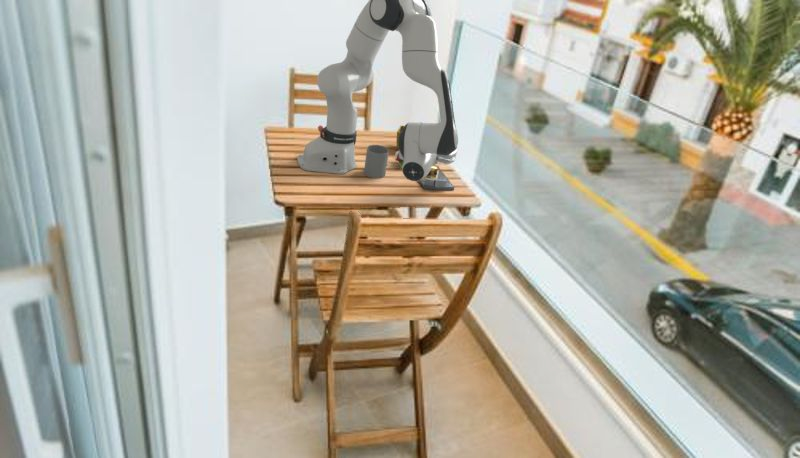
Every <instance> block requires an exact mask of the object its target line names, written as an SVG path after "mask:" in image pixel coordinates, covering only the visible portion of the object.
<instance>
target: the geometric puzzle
mask: <svg viewBox="0 0 800 458" xmlns="http://www.w3.org/2000/svg"><path fill="white" fill-rule="evenodd" d="M394 160H395V162H396V163H398V165H399V166H400V167H402V166H403V162H404V160H402V159H400V158H399V150H397V151H396V152H395V154H394Z"/></svg>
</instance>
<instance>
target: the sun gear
mask: <svg viewBox="0 0 800 458" xmlns="http://www.w3.org/2000/svg"><path fill="white" fill-rule="evenodd" d="M439 168H440V166H439V165H437V164H434V165H433V166H432V168H431V170H430V172H429V173H428V174H431V175H434V174H438V172H439Z"/></svg>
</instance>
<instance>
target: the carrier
mask: <svg viewBox="0 0 800 458" xmlns="http://www.w3.org/2000/svg"><path fill="white" fill-rule="evenodd" d="M418 183H419V184H420V185H421V187H422V188H423V190H424V191H425V190H427V191H428V190H429V191H431V190H432V191H436V190H437V191H454V190H455V185H454V184H453V183H452V182H451V181H450V180H449V178H448V177H447V176H446V175H445V173H444V172H443V171H442V170H441V168H440V167H439V172H438V174H434V175H431V174H427V176H426V177H425V178H423V179H422V180H419V181H418Z"/></svg>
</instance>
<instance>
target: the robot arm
mask: <svg viewBox="0 0 800 458" xmlns="http://www.w3.org/2000/svg"><path fill="white" fill-rule="evenodd" d="M389 31H391V32H394V31H396V32H398V33H399V34H400V35H401V40H402V43H401V44H402V45H401V64H402V66H401V67H402V70H403V72H404V74H405V75H406V76H407V77H408V78H409V79H410V80H412V81H413V82H415V83H418V84H419V85H422V86H424V87H427V88H429V89H431V90H432V91H433V92H434V93H435V95H436V96H437V101H438V109H439V115H440V122H438V123H434V122H433V123H432V122H431V123H429V122H407V123H406V124H405V125H403V126H404V127H403V129H402V130H401V132H400V136H399V149H398V151H399V153H398V154H399V158H400V159H402V160H404V162H403V166H401V169H402V170H401V171H402V174H403V176H404V177H405V178H406V179H407V180H408V181H409V180H410V181H413V182H419V180H422V179H423V178H425V177H426V176H427V174H428V173H429V172H430V170H431V168H432V166H433V165H434V163H435V161H437V163H442V164H447V165H451V164H452V163H454V162H455V161H456V157H457V154H458V153H457V152H458V151H457V148H458V145H459V135H458V129H457V126H456V121H455V114H454V105H453V98H452V92H451V85H450V79H449V76H448V73H447V71H446V70H444V69H443V68H442V67H441V65H440V63H439V57H438V55H439V54H438V51H439V50H438V49H439V47H438V32H437V25H436V22H435V20H434V19H433V11H432V7H431V5H430V4H429V2H428V1H426V0H368V1H367V3H365V5H364V7H363V8H362V10H361V12H359V14H358V16H357V18H356V21H355V22H354V24H353V26H352V29H351V31H350V32H349V35H348V37H347V39H346V41H345V46H346V49H347V53H346V56H345V58H344V60H343V61H341V62H338V63H332V64H329V65H327V66H326V67H324V68H323V69H321V70H320V71H319V73H318V74H317V79H316V80H317V81H316V82H317V87H318V89H319V91H320V92H321V93H322V94H323V96H324V97H325V98H324V99H325V100H326V109H327V111H326V126H324V127H323V126H322V125H321V124H320V125H318V126H317V130H318V132H319V134H320V135H319V136H318V137H316V138H315V139H313V140H311V141H309V142H308V143H306V145H305V148H304V150H303V152H302V153H299V154H298V155H297V158H296V160H297V165H298V166H299V168H300V169H302V170H304V171H306V172H307V171H308V172H316V173H317V172H319V173H327V174H328V173H329V174H340V175H344V174H347V172H349V171H351V170H352V171H353V169H355V168H356V167H357V163H356V159H355V158H356V156H355V145H356V142H357V137H358V136H357V135H358V134H357V120H358V113H359V112H358V109H357V107H356V106H355V105H354V102H353V95H354V93H356V92H359V91H362V90H364V89H366V88H367V87H368V86H370V84H371V83H372V81H373V79H374V71H373V66H374V63H375V60H376V59H375V58H376V56H377V54H378V52H380V49H381V47H382V45H383V43H384V41H385V40H386V37H387V35H388V33H389Z"/></svg>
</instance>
